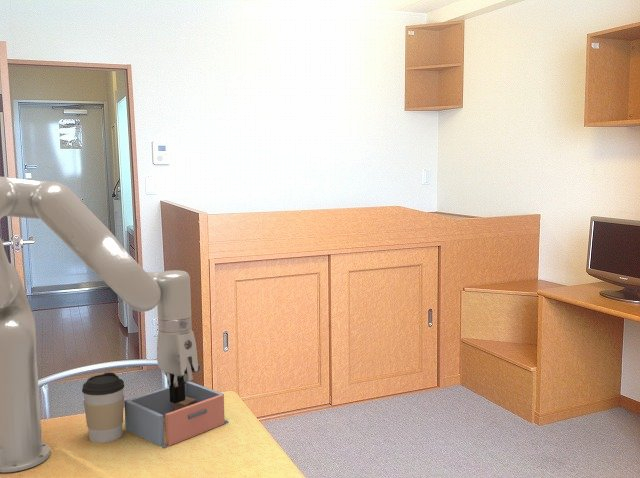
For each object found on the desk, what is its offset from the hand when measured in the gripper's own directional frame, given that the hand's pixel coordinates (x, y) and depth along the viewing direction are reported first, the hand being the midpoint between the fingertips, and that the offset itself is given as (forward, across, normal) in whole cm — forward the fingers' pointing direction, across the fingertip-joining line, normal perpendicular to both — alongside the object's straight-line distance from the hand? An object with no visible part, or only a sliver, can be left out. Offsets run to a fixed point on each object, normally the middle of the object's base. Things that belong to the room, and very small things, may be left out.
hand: (177, 401), depth 149 cm
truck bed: (+7, +1, 0) cm, 7 cm away
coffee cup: (+8, +8, +14) cm, 18 cm away
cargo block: (+7, +4, -5) cm, 10 cm away
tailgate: (+6, -7, 0) cm, 9 cm away
